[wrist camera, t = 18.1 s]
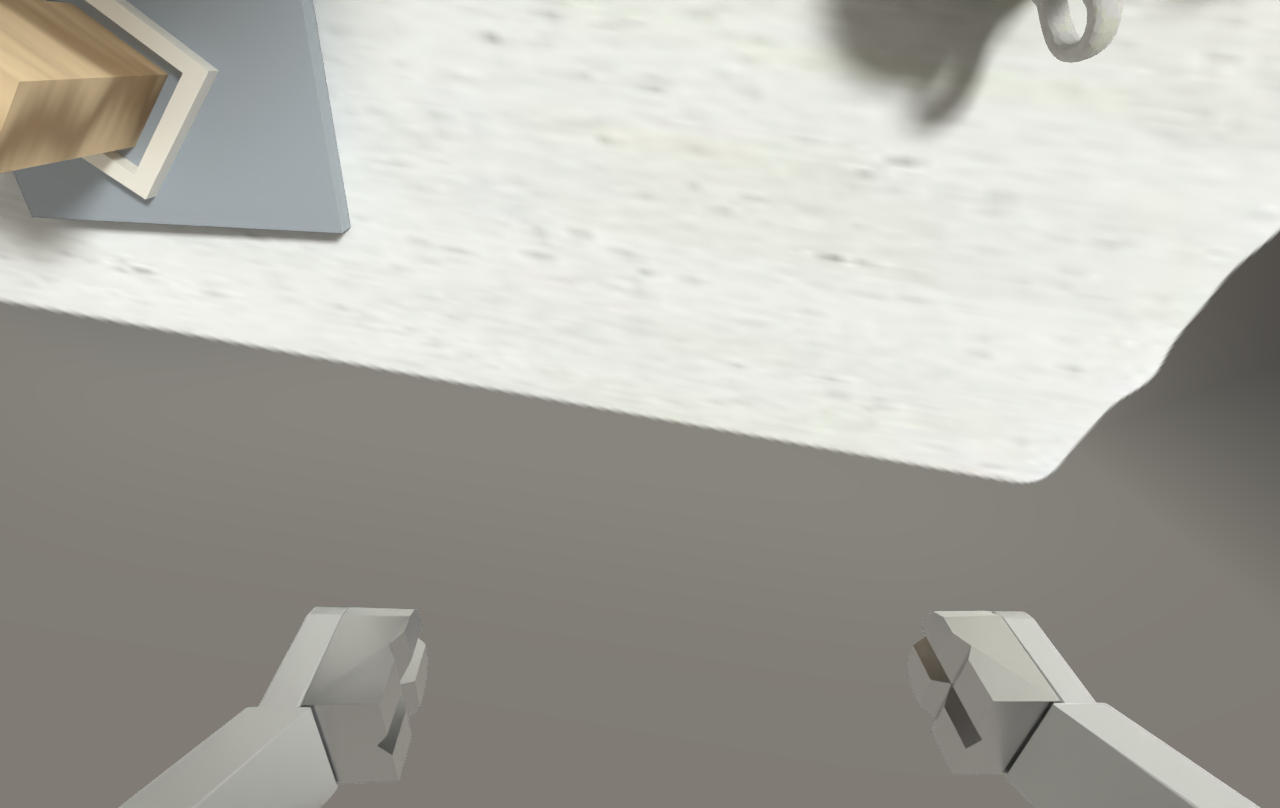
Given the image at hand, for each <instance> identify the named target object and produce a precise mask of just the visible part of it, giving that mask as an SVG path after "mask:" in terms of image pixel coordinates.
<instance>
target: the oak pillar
mask: <svg viewBox="0 0 1280 808" xmlns="http://www.w3.org/2000/svg"><path fill="white" fill-rule="evenodd" d="M168 75H169V74H168V73H166V72H165V71H163V70H162V69H161V68H159V67H158V66H157V65H155V64H154V63H153V62H151V61H150V60H148V59H147V58H146V57H144V56H143V55H142V54H140V53H139V52H138V51H136V50H135V49H134V48H132V47H131V46H129V45H128V44H127V43H125V42H124V41H123V40H121V39H120V38H119V37H117V36H116V35H115V34H113V33H112V32H110V31H109V30H108V29H106V28H105V27H104V26H102V25H101V24H100V23H98V22H97V21H95V20H94V19H93V18H91V17H90V16H89V15H87V14H86V13H85V12H83V11H82V10H81V9H79V8H78V7H76V6H75V5H74V4H72V3H63V2H52V1H41V0H0V173H4V172H9V171H14V170H19V169H24V168H29V167H34V166H40V165H45V164H50V163H55V162H60V161H65V160H70V159H75V158H80V157H85V156H90V155H95V154H100V153H105V152H110V151H115V150H120V149H125V148H131V147H135V146H136V143H137V141H138V139H139V137H140V135H141V133H142V131H143V128H144V126H145V124H146V122H147V120H148V118H149V116H150V113H151V111H152V109H153V107H154V105H155V103H156V100H157V98H158V96H159V94H160V92H161V90H162V88H163V85H164V83H165V81H166V79H167V77H168Z"/></svg>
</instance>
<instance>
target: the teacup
mask: <svg viewBox="0 0 1280 808" xmlns="http://www.w3.org/2000/svg"><path fill="white" fill-rule="evenodd" d="M1082 1H1083V2H1084V4H1085V6H1086V8H1087V25H1086V29H1085V32H1084V34H1083V36H1082V38H1080V37H1079V35H1078V34H1077V32H1076V30H1075V28H1074V25H1073V23H1072V19H1071V16H1070V12H1069V7H1068V1H1067V0H1033V2H1034V3H1035V5H1036V6H1037V10H1038V15H1039V20H1040V24H1041V28H1042V32H1043V35H1044V39H1045V42H1046V44H1047V46H1048V48H1049V50H1050V51H1051V53H1052V54H1053V56H1055V57H1056V58H1057V59H1058V60H1061V61H1063V62H1079V61H1082V60H1085V59H1088V58H1091V57H1093V56H1095V55H1097V54H1098V53H1100V52H1101V51H1102V50H1104V49H1105V48H1106V47H1107V46H1108V45H1109V44H1110V43H1111V41H1112V39H1113V38H1114V36H1115V34H1116V33H1117V30H1118V27H1119V24H1120V21H1121V14H1122V0H1082Z"/></svg>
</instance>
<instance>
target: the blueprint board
mask: <svg viewBox="0 0 1280 808" xmlns="http://www.w3.org/2000/svg"><path fill="white" fill-rule="evenodd" d="M46 1H52V2H63V3H72V4H74V5H75V6H76V7H78V8H79V9H81V10H82V11H83V12H85V13H86V14H87V15H89V16H90V17H91V18H93V19H94V20H95V21H97V22H98V23H100V24H101V25H102V26H104V27H105V28H106V29H108V30H109V31H110V32H112V33H113V34H115V35H116V36H117V37H119V38H120V39H121V40H123V41H124V42H125V43H127V44H128V45H129V46H131V47H132V48H134V49H135V50H136V51H138V52H139V53H140V54H142V55H143V56H144V57H146V58H147V59H148V60H150V61H151V62H153V63H154V64H155V65H157V66H158V67H159V68H161V69H162V70H163V71H165V72H166V73H168V74H169V75H168V77H167V79H166V81H165V83H164V85H163V88H162V90H161V92H160V94H159V96H158V98H157V100H156V103H155V105H154V107H153V109H152V111H151V113H150V116H149V118H148V120H147V122H146V124H145V126H144V128H143V131H142V133H141V135H140V137H139V139H138V141H137V143H136V146H135V147H131V148H125V149H120V150H115V151H116V152H117V153H118V154H120V155H121V156H123V157H124V158H126V159H127V160H129V161H130V162H132V163H133V164H135V165H136V166H139V164H140V162H141V160H142V158H143V155H144V153H145V151H146V149H147V147H148V145H149V143H150V141H151V139H152V137H153V134H154V132H155V130H156V128H157V126H158V124H159V122H160V120H161V118H162V116H163V113H164V111H165V109H166V107H167V105H168V103H169V101H170V99H171V97H172V95H173V92H174V90H175V88H176V86H177V84H178V82H179V80H180V78H181V76H182V74H183V73H182V72H181V71H179V70H178V69H177V68H175V67H174V66H173V65H171V64H170V63H169V62H167V61H166V60H165V59H163V58H162V57H161V56H159V55H158V54H157V53H155V52H154V51H153V50H151V49H150V48H149V47H147V46H146V45H145V44H143V43H142V42H140V41H139V40H138V39H136V38H135V37H134V36H132V35H131V34H130V33H128V32H127V31H126V30H124V29H123V28H122V27H120V26H119V25H118V24H116V23H115V22H114V21H112V20H111V19H110V18H108V17H107V16H106V15H104V14H103V13H101V12H100V11H99V10H97V9H96V8H95V7H93V6H92V5H91V4H89V3H88V2H87V1H85V0H46ZM127 1H128V2H129V3H131V4H132V5H133V6H134V7H136V8H137V9H138V10H140V11H141V12H142V13H144V14H145V15H146V16H148V17H149V18H150V19H152V20H153V21H154V22H156V23H157V24H158V25H159V26H161V27H162V28H163V29H165V30H166V31H167V32H169V33H170V34H171V35H173V36H174V37H175V38H177V39H178V40H179V41H180V42H182V43H183V44H184V45H186V46H187V47H188V48H190V49H191V50H192V51H194V52H195V53H196V54H198V55H199V56H200V57H202V58H203V59H204V60H205V61H207V62H208V63H209V64H211V65H212V66H213V67H215V68H216V69H217V70H219V72H218V74H217V76H216V78H215V80H214V82H213V84H212V86H211V88H210V90H209V92H208V94H207V96H206V98H205V100H204V102H203V104H202V106H201V108H200V110H199V112H198V114H197V116H196V118H195V120H194V122H193V124H192V126H191V128H190V130H189V132H188V134H187V136H186V138H185V140H184V142H183V144H182V146H181V148H180V150H179V152H178V154H177V156H176V158H175V160H174V162H173V164H172V166H171V168H170V170H169V172H168V174H167V176H166V178H165V180H164V182H163V184H162V186H161V188H160V190H159V192H158V194H157V196H155V197H152V198H149V199H144V198H142V197H141V196H139V195H138V194H136V193H135V192H133V191H132V190H130V189H129V188H127V187H126V186H124V185H123V184H121V183H120V182H118V181H117V180H115V179H114V178H112V177H110V176H109V175H107V174H106V173H104V172H103V171H101V170H100V169H98V168H97V167H95V166H94V165H92V164H91V163H89V162H88V161H86V160H85V159H83V158H82V157H80V158H75V159H70V160H65V161H60V162H55V163H50V164H45V165H40V166H34V167H29V168H24V169H19V170H14V171H13V172H14V175H15V177H16V179H17V182H18V184H19V186H20V189H21V191H22V194H23V196H24V198H25V201H26V203H27V205H28V208H29V210H30V213H31V215H32V217H39V218H58V219H78V220H97V221H117V222H136V223H155V224H175V225H194V226H213V227H233V228H252V229H271V230H291V231H310V232H329V233H343V232H345V231H346V230H348V229H349V228H350V227H351V226H350V220H349V214H348V208H347V202H346V196H345V190H344V184H343V179H342V173H341V167H340V161H339V155H338V149H337V143H336V137H335V131H334V125H333V119H332V113H331V107H330V101H329V95H328V89H327V84H326V78H325V72H324V66H323V60H322V54H321V48H320V42H319V36H318V30H317V24H316V18H315V12H314V6H313V0H127Z"/></svg>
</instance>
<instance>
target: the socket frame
mask: <svg viewBox="0 0 1280 808" xmlns="http://www.w3.org/2000/svg"><path fill="white" fill-rule="evenodd" d="M41 1H46V0H41ZM85 1H87V2H88V3H89V4H91V5H92V6H93V7H95V8H96V9H97V10H99V11H100V12H101V13H103V14H104V15H106V16H107V17H108V18H110V19H111V20H112V21H114V22H115V23H116V24H118V25H119V26H120V27H122V28H123V29H124V30H126V31H127V32H128V33H130V34H131V35H132V36H134V37H135V38H136V39H138V40H139V41H140V42H142V43H143V44H145V45H146V46H147V47H149V48H150V49H151V50H153V51H154V52H155V53H157V54H158V55H159V56H161V57H162V58H163V59H165V60H166V61H167V62H169V63H170V64H171V65H173V66H174V67H175V68H177V69H178V70H179V71H181V72H182V73H183V74H182V76H181V78H180V80H179V82H178V84H177V86H176V88H175V90H174V92H173V95H172V97H171V99H170V101H169V103H168V105H167V107H166V109H165V111H164V113H163V116H162V118H161V120H160V122H159V124H158V126H157V128H156V130H155V132H154V134H153V137H152V139H151V141H150V143H149V145H148V147H147V149H146V151H145V153H144V155H143V158H142V160H141V162H140V164H139V166H136V165H135V164H133V163H132V162H130V161H129V160H127V159H126V158H124V157H123V156H121V155H120V154H118V153H117V152H116V151H110V152H105V153H100V154H95V155H90V156H85V157H82V158H83V159H85V160H86V161H88V162H89V163H91V164H92V165H94V166H95V167H97V168H98V169H100V170H101V171H103V172H104V173H106V174H107V175H109V176H110V177H112V178H114V179H115V180H117V181H118V182H120V183H121V184H123V185H124V186H126V187H127V188H129V189H130V190H132V191H133V192H135V193H136V194H138V195H139V196H141V197H142V198H144V199H149V198H152V197H155V196H157V194H158V192H159V190H160V188H161V186H162V184H163V182H164V180H165V178H166V176H167V174H168V172H169V170H170V168H171V166H172V164H173V162H174V160H175V158H176V156H177V154H178V152H179V150H180V148H181V146H182V144H183V142H184V140H185V138H186V136H187V134H188V132H189V130H190V128H191V126H192V124H193V122H194V120H195V118H196V116H197V114H198V112H199V110H200V108H201V106H202V104H203V102H204V100H205V98H206V96H207V94H208V92H209V90H210V88H211V86H212V84H213V82H214V80H215V78H216V76H217V74H218V72H219V70H217V69H216V68H215V67H213V66H212V65H211V64H209V63H208V62H207V61H205V60H204V59H203V58H202V57H200V56H199V55H198V54H196V53H195V52H194V51H192V50H191V49H190V48H188V47H187V46H186V45H184V44H183V43H182V42H180V41H179V40H178V39H177V38H175V37H174V36H173V35H171V34H170V33H169V32H167V31H166V30H165V29H163V28H162V27H161V26H159V25H158V24H157V23H156V22H154V21H153V20H152V19H150V18H149V17H148V16H146V15H145V14H144V13H142V12H141V11H140V10H138V9H137V8H136V7H134V6H133V5H132V4H131V3H129V2H128V1H127V0H85Z"/></svg>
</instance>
